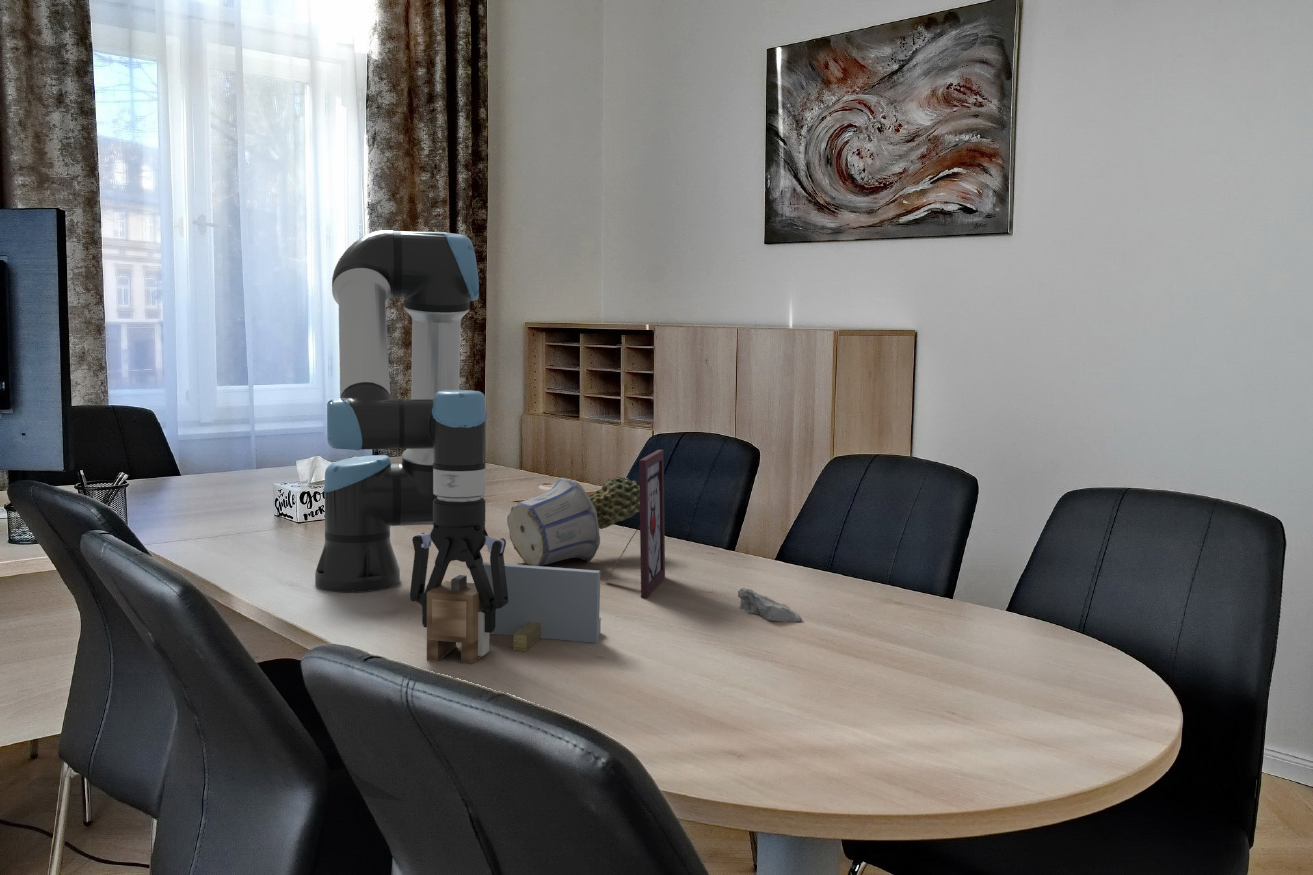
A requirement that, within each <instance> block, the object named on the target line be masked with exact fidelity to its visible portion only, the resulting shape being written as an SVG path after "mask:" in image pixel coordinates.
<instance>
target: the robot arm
mask: <svg viewBox="0 0 1313 875" xmlns="http://www.w3.org/2000/svg"><path fill="white" fill-rule="evenodd" d="M476 258H477V257H476V252H475V247H474V244H473V242H472V240H471V239H470V238H469V237H468V236H466V235H464V234H461V233H460V234H459V233H451V232H444V231H442V232H441V231H439V232H438V231H410V230H409V231H408V230H407V231H403V230H391V229H383V230H377V231H373V232H370V233H368V234H365V235H363V236H362V237H360V238H359V239H357V240H356V241H354V242H353V243H352V244H351V245H350V246H348V248H346V250H345V251H344V252H343V253H342V255H341V256H340V258H338V261H337V263H336V265H335V268H334V270H333V272H332V273H333V274H332V279H331V280H332V281H331V292H332V293H331V294H332V297H333V299H334V301H335V303H337V305H338V338H339V339H338V349H339V350H338V354H339V356H338V358H339V361H338V362H339V363H338V364H339V398H333V399H330V400H328V401H327V403H326V407H327V408H326V422H327V423H326V430H327V432H326V433H327V434H326V435H327V436H326V437H327V438H326V439H327V444H328V446H330V447H331V448H332V449H335V450H352V451H361V450H391V449H392V450H393V449H395V450H396V449H404V451H403V452H402V454H401V458H402V460H401V461H402V462H397V463H396V462H395V463H391V461H392V460H391V458H390V457H389V455H384V454H379V455H377V454H376V455H363V456H356V457H354V456H353V457H349V458H345V459H341V460H338V461H335V462H332V463H331V464H329V465H328V466H327V467H326V468H325V471H324V485H323V488H322V491H323V493H324V544H323V548H322V551H321V554H320V556H319V560H318V562H317V563H318V564H317V566H316V569H315V571H314V572H315V574H314V577H315V578H314V581H315V582H314V585H315V586H316V587H317V588H319V589H322V590H326V591H330V592H338V593H339V592H340V593H356V592H357V593H358V592H359V593H362V592H371V591H372V592H373V591H379V590H383V589H384V590H385V589H387V588H391V587H393V586H396V585H397V584H399V583H400V581H401V570H400V567H399V563H398V560H397V557H396V554H395V551H394V549H393V547H392V546H393V545H392V543H391V527H397V526H399V527H400V526H428V525H429V526H430V525H431V526H433V527H432V528H431V531H430V532H429V533H425V532H421V533H419V534H417V535H415V536H413V537H412V545H413V549H414V550H413V551H414V555H413V556H414V557H413V565H412V566H413V567H412V573H411V574H412V575H411V581H410V591H409V600H410V601H411V602H412V603H418V604H420V605H421V609H422V611H421V612H422V613H421V614H422V619H421V620H422V621H421V622H422V626H423V628H427V592H428V591H430V590H432V589H435V588H436V587H438V586H440V585H441V584H442V583H443V581H444V578H445V576H446V572H447V570H448V567H449V565H450V563H451V562H454V561H458V562H462V563H465V564H466V568H467V569H468V570H469V572H470V575H471V578H472V581H473V583H474V584H475V587H476V590H477V592H479V598H480V601H481V604H482V607H483V609H482V610H480V611H479V612H478V656H481V657H483V656H485V655H486V654H488V652H490V650H489V633H491V632H492V631H494V629H495V618H496V609H498V608H499V609H500V608H502V607H503V606H504V605H506V604H507V603H508V592H507V583H506V573H505V564H506V563H505V557H504V553H505V550H506V544H507V541H506V539H505V538H504V537H503V538H499V539H498V538H495V537H492V536H490V535H489V534H488V532H487V529H486V499H485V498H483V497H482V496H484V495H485V494H486V493H487V491H486V489H487V488H486V486H487V485H486V481H487V480H486V479H487V477H486V474H487V473H486V435H487V418H488V412H487V404H486V403H487V402H486V396H485V394H484V393H483V392H481V391H479V390H473V389H472V390H469V389H467V390H466V389H460V372H461V370H460V368H461V362H460V361H461V328H462V325H461V324H462V323H461V322H462V319H463V317H464V316H465V315H466V314H468V313H469V312H470V306H471V303H470V302H474V301H477V300H478V299H479V296H480V290H479V289H480V284H479V282H480V281H479V272H478V271H479V270H478V264H477V259H476ZM390 298H393V299H403V309H404V311H406V312H407V313H408V314H409V315H410V317H411V329H412V330H411V388H410V389H411V395H410V396H411V397H410V398H411V399H409V398H407V399H403V398H397V399H394V398H391V386H390V385H391V384H390V366H389V364H390V363H389V349H388V348H389V346H388V343H389V342H388V329H387V310H386V308H387V307H386V305H387V304H388V302H389V300H390ZM432 543H433V545H434V547H435V548H436V549H437V551H438V552H437V555H436V558H435V560H434V566H433V569H432V572H431V574H430V576H429V579H428V581H427V582H428V583H427V584H426V580H427V574H428V573H427V572H428V565H429V564H428V563H429V554H430V553H429V552H430V547H431V546H432ZM485 545H486V547H487V552H488V553H489V563H490V564H491V573H492V582H493V591H494V594H493V591H492V588H491V586H490V583H489V580H488V577H487V574H486V571H485V568H484V565H483V562H484V559H483V556H482V552H481V551H482V549H483V548H484V547H485Z"/></svg>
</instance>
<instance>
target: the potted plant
mask: <svg viewBox="0 0 1313 875" xmlns="http://www.w3.org/2000/svg"><path fill="white" fill-rule="evenodd" d="M637 513H640V484H637V481H636V480H631V479H629V478H628V477H619V476H616V477H614V478H613V479H612V478H611V479H610V478H608V480H607V482H605V483H603V484H602V486H601V489H600V488H599V489H597V490H595V491H593V492H591V493H589V494H587V492H586V491H585V488H584V487H583V486H582V485H581V483H579V481H577V480H574V479H572V478H565V477H560V478H558V479H557V480H556V482H555V483H554V484H553V486H552V487H551V488H550V489H549V490H547V491H545V492H543V493H541V494H538V495H536V496H535V495H534V496H533V497H530V498H527V499H524V500H521V501H519V502H517V503H515V504H514V505H513V506H512V507H511V509H510V512H509V513H508V514H507V522H506V523H507V527H508V530H509V531H508V532H509V539H510V541H511V543H512V546H513V548H514V550H515V551H516V553H517V554H518V555H519V558H521V559H522V561H523V562H524V563H525V565H528V566H542V567H545V566H547V565H551V564H553V563H556V562H560V561H564V560H568V559H571V558H572V559H573V558H574V559H575V558H578V559H581V560H583V561H586V562H592V560H593V559H594V557H595V555H596V554H597V551H598V550H599V547H600V545H601V535H600V530H603V529H607V528H609V527H610V526H612V525H615V524H616V523H617V522H621V521H625V520H627V519H630V518H632V517H633V516H635V515H636V514H637Z"/></svg>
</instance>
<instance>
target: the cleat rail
mask: <svg viewBox="0 0 1313 875" xmlns="http://www.w3.org/2000/svg"><path fill="white" fill-rule="evenodd" d="M540 639H542V638H541V623H535V622H528V623H527V624H526V625H524V626H523V627H522V628H521V629H520V630H518V631H517V632H516V633H515V634H514V636H513V651H519V652H527V651H528V650H530V648H532V646H534V645H535V644H536V643H537V642H538V641H539V640H540Z"/></svg>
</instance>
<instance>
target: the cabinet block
mask: <svg viewBox="0 0 1313 875" xmlns="http://www.w3.org/2000/svg"><path fill="white" fill-rule="evenodd" d="M467 580H468V576H467V575H466V574H463V575H462V574H458V575H457V576H455V577H453V578H451V579H450V580H449V581H448V580H446V581H444V582H443V581H442V583H441V585H440V586H438V587H436V588H435V589H432V590H430V591H428V592H427V627H426V660H427V661H433V662H434V661H435V662H436V661H437V662H439V661H440V660H441V659H442V658H443V657H445V656H446V655H448V654H449V653H450V652H452V651H453V650H454V649H455V648H457V643H460V646H461V647H460V648H461V649H460V652H461V654H460V658H461V660H460V663H461V664H469V665H473V664H474V663H475V662H476V661H478V660H479V659H480V658H482V656H478V612H479V611H480V610H482V609H483V607H482V604H481V601H480V598H479V592H477V590H476V587H475V584H474V582H467ZM490 637H491V634H490V633H489V651H490V650H491V647H490V646H491V644H490V642H491V641H490V640H491V639H490Z"/></svg>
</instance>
